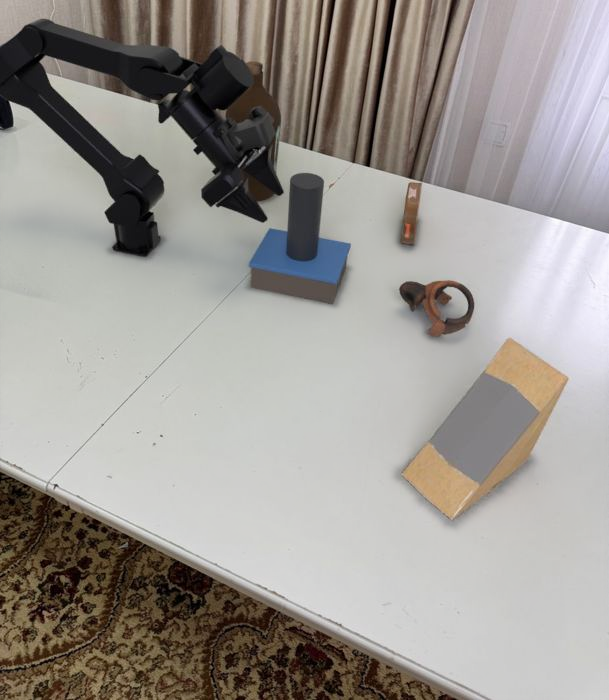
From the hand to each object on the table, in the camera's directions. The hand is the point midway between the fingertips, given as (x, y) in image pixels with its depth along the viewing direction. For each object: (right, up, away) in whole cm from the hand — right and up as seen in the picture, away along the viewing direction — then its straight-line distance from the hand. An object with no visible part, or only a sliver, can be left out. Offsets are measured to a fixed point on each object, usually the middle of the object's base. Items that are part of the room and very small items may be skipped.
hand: (273, 207), depth 99 cm
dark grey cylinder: (+4, -7, +4) cm, 9 cm away
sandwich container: (+25, -38, -21) cm, 50 cm away
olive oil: (-6, +10, +30) cm, 32 cm away
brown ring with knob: (+25, -18, +2) cm, 31 cm away
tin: (+25, 0, +22) cm, 33 cm away
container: (+4, -10, +8) cm, 13 cm away
